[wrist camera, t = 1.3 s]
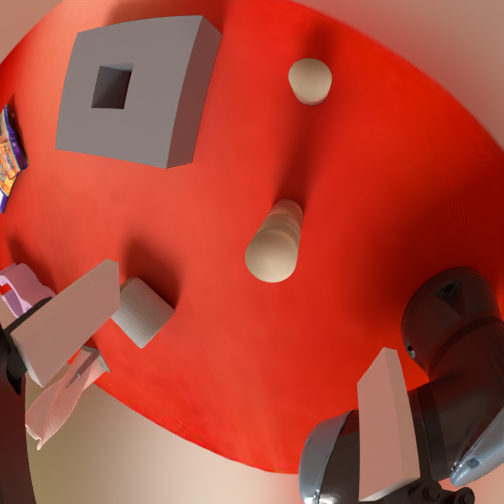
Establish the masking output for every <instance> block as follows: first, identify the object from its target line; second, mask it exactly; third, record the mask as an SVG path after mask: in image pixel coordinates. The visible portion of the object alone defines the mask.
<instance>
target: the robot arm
mask: <svg viewBox="0 0 504 504" xmlns="http://www.w3.org/2000/svg"><path fill="white" fill-rule="evenodd" d="M120 307H121V302H120V284H119V263H117V262H115V261H112V260H110V259H106V260H104V261H103V262H102V263H100V264H99V265H97V266H96V267H94V268H93V269H92V270H90V271H89V272H87V273H86V274H85V275H83V276H82V277H81V278H79V279H78V280H76V281H75V282H74V283H72V284H71V285H70V286H68V287H67V288H66V289H64V290H63V291H62V292H60V293H59V294H58V295H57V296H55V297H54V298H52V297H51V296H50V297H47V298H44V299H42V300H40V301H39V302H37V303H36V304H35V305H34V306H33V307H31V308H30V309H28V310H27V312H25V313H23V314H22V315H21V316H20V317H19V318H17V319H16V320H15V321H14V322H12V323H11V324H10V325H9V326H8V327H7V328H5V329H4V330H3V329H2V326H1V324H0V504H36V501H35V496H34V491H33V486H32V481H31V475H30V469H29V462H28V453H27V444H26V428H25V385H26V377H25V372H26V371H27V370H28V372H29V374H30V376H31V377H32V379H33V380H34V381H35V382H36V383H38V384H39V385H40V386H41V387H42V388H44V387H45V385H46V384H47V383H48V382H49V381H50V380H51V379H52V378H53V377H54V375H55V374H56V373H57V372H58V371H59V370H60V369H61V368H62V367H63V366H64V365H65V363H66V362H67V361H68V360H69V359H70V358H71V357H72V356H73V355H74V354H75V353H76V352H77V351H78V350H79V349H80V348H81V346H82V345H83V344H84V343H85V342H86V341H87V340H88V339H89V338H90V337H91V336H92V335H93V334H94V333H95V332H96V331H97V330H98V329H99V328H100V327H101V326H102V325H103V324H104V323H105V322H106V321H107V320H108V319H109V318H110V317H111V316H112V315H113V314H114V313H115V312H116V311H117V310H118V309H119V308H120ZM401 335H402V339H403V342H404V345H405V348H406V351H407V352H408V354H409V355H410V357H411V358H412V359H413V360H414V361H415V362H416V363H417V364H418V366H419V367H420V368H421V369H422V370H423V371H424V372H425V373H426V374H427V375H428V377H429V380H430V382H429V383H427V384H424V385H422V386H420V387H417V388H415V389H412V390H410V391H408V392H407V390H406V386H405V381H404V377H403V373H402V369H401V365H400V361H399V357H398V353H397V350H394V349H389V348H385V347H383V349H382V350H381V352H380V353H379V355H378V356H377V357H376V359H375V360H374V362H373V363H372V364H371V366H370V367H369V369H368V370H367V371H366V373H365V374H364V375H363V377H362V378H361V379H360V381H359V382H358V383H357V388H358V403H359V409H357V410H355V409H353V410H350V411H348V412H347V413H345V414H342V415H339V416H336V417H333V418H329V419H326V420H324V421H322V422H320V423H319V424H317V425H316V426H315V427H314V428H313V430H312V431H311V432H310V434H309V436H308V437H307V439H306V442H305V445H304V448H303V450H302V454H301V458H300V464H299V477H298V479H299V490H300V494H301V498H302V500H303V502H304V503H305V504H474V501H475V496H474V493H473V491H472V489H470V488H469V487H463V488H461V489H459V490H458V491H456V492H453V491H448V490H444V489H442V487H441V485H440V484H439V483H438V481H441V480H444V479H446V478H449V477H450V482H451V483H452V484H453V485H454V486H455V487H460V486H464V485H466V484H468V483H470V482H472V481H475V480H477V479H479V478H481V477H483V476H485V475H486V474H488V473H489V472H491V471H492V470H494V469H495V468H497V467H498V466H500V465H501V464H502V463H504V322H503V320H502V318H501V314H500V310H499V307H498V303H497V300H496V297H495V294H494V291H493V288H492V287H491V285H490V283H489V282H488V281H487V280H486V279H485V278H484V277H483V276H482V275H481V274H480V273H479V272H478V271H476V270H474V269H471V268H467V267H458V268H452V269H449V270H446V271H444V272H442V273H440V274H438V275H436V276H434V277H433V278H432V279H430V280H429V281H428V282H426V283H425V284H424V285H423V286H422V287H421V288H420V289H419V290H418V291H417V292H416V294H415V295H414V296H413V298H412V299H411V301H410V302H409V304H408V306H407V308H406V310H405V312H404V315H403V318H402V323H401Z"/></svg>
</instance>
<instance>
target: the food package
mask: <svg viewBox="0 0 504 504" xmlns="http://www.w3.org/2000/svg"><path fill="white" fill-rule="evenodd" d="M13 118H14V113H13V114H12V113H11V112H10V109H9V106H8V103H7V104H6V106H5V107H4V109H3V111H2V113H1V115H0V211H1V212H2V214H3V213H4V210H5V207H6V203H7V201H8V198H9V195H10V193H11V190H12V187H13V184H14V182H15V180H16V178H17V176H18V175H19V173H20V172H21V171H22V170H24V169H26V168H27V166H28V163H29V160H28V156H27V155H26V153H25V151H24V148H23V147H22V146H21V141H20V138H19V135H18V133H17V131H16V129H15V127H14V123H13Z"/></svg>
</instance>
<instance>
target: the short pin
mask: <svg viewBox="0 0 504 504" xmlns="http://www.w3.org/2000/svg"><path fill="white" fill-rule="evenodd" d="M289 82H290V84H291V87H292V89H293V92H294V94H295V96H296V98H297V99H298V100H299V101H300V102H301V103H303V104H305V105H308V106H316V105H319V104H321V103H322V102H324V101H325V99H326V98H327V96H328V92H329V89H330V86H331V83H332V75H331V72H330V70H329V68H328V67H327V66H326V65H325V64H324V63H323V62H321V61H319V60H316V59H312V58H306V59H301V60H299V61H297V62H296V63H294V64H293V65H292V67H291V68H290V71H289Z"/></svg>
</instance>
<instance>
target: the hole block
mask: <svg viewBox="0 0 504 504" xmlns="http://www.w3.org/2000/svg"><path fill="white" fill-rule="evenodd" d="M221 38H222V34H221V33H220V32H219V31H218V30H217V29H216V28H215V27H214V26H213V25H212V24H211V23H210V22H209V21H208V20H207V19H206V18H205V17H204V16H203V15H196V16H173V17H160V18H151V19H143V20H136V21H129V22H123V23H118V24H113V25H108V26H103V27H99V28H95V29H91V30H87V31H83V32H79V33H77V36H76V39H75V43H74V46H73V50H72V53H71V57H70V61H69V65H68V69H67V73H66V77H65V82H64V87H63V92H62V98H61V103H60V110H59V117H58V125H57V134H56V144H55V149H58V150H65V151H72V152H78V153H85V154H91V155H97V156H103V157H109V158H114V159H120V160H125V161H130V162H136V163H141V164H146V165H150V166H155V167H160V168H165V169H168V168H172V167H176V166H180V165H184V164H188V163H192V159H193V154H194V149H195V144H196V139H197V134H198V129H199V124H200V120H201V115H202V111H203V106H204V102H205V98H206V94H207V89H208V85H209V81H210V77H211V74H212V70H213V66H214V62H215V59H216V55H217V52H218V48H219V45H220V41H221ZM130 72H132V74H131V78H130V82H129V86H128V91H127V96H126V101H125V106H124V109H122V107H123V102H124V97H125V92H126V87H127V83H128V79H129V74H130Z"/></svg>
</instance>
